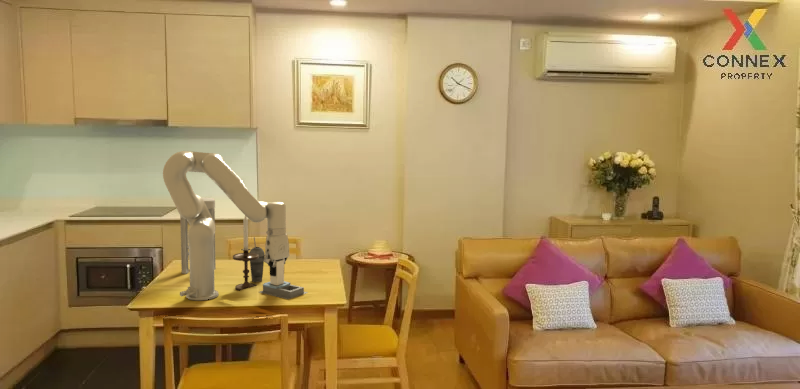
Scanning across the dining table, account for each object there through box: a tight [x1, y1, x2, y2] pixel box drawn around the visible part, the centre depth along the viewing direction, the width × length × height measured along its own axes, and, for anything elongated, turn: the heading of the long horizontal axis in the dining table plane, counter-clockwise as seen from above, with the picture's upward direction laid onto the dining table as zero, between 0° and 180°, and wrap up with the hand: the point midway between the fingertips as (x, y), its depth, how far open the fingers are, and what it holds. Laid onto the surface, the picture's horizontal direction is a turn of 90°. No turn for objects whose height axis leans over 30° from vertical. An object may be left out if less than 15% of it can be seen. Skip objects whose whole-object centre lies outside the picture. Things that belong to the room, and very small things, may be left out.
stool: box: [179, 196, 217, 275], centre depth 272 cm, size 16×16×35 cm
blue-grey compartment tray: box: [259, 280, 309, 300], centre depth 239 cm, size 12×17×4 cm
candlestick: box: [232, 215, 259, 291], centre depth 246 cm, size 11×11×35 cm
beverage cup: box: [248, 236, 265, 283], centre depth 259 cm, size 7×7×20 cm
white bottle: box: [269, 259, 285, 285], centre depth 240 cm, size 4×4×12 cm
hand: (277, 274), depth 241 cm, fingers closed on white bottle, 4 cm apart
